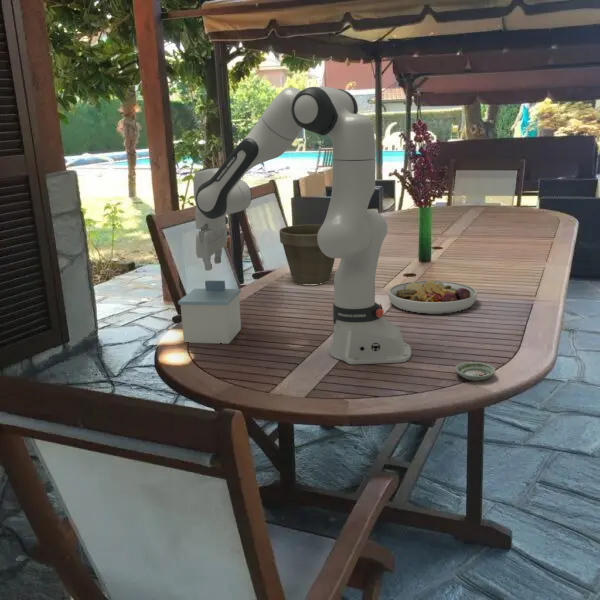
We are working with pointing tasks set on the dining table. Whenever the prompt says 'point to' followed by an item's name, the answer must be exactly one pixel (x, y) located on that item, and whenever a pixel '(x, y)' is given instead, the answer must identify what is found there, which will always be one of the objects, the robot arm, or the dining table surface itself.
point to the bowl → (432, 296)
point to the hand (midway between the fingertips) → (213, 266)
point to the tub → (211, 322)
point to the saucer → (474, 366)
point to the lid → (210, 295)
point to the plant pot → (305, 254)
